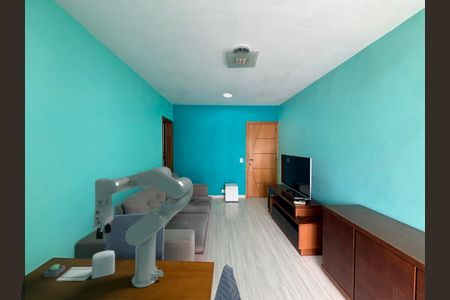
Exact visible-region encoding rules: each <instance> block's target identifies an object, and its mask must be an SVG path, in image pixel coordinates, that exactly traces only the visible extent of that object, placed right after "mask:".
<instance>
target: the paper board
mask: <svg viewBox="0 0 450 300" xmlns="http://www.w3.org/2000/svg"><path fill="white" fill-rule="evenodd" d="M91 276H92V266H76V267H75V266H74V267H73V266H72V267H70V268H69V269H68V270H67V271H66V272H65V273H63V274H62V275H61V276H59V277H58V278H57V279H56V282H81V281H86V280H87V279H88V278H89V277H91Z"/></svg>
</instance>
